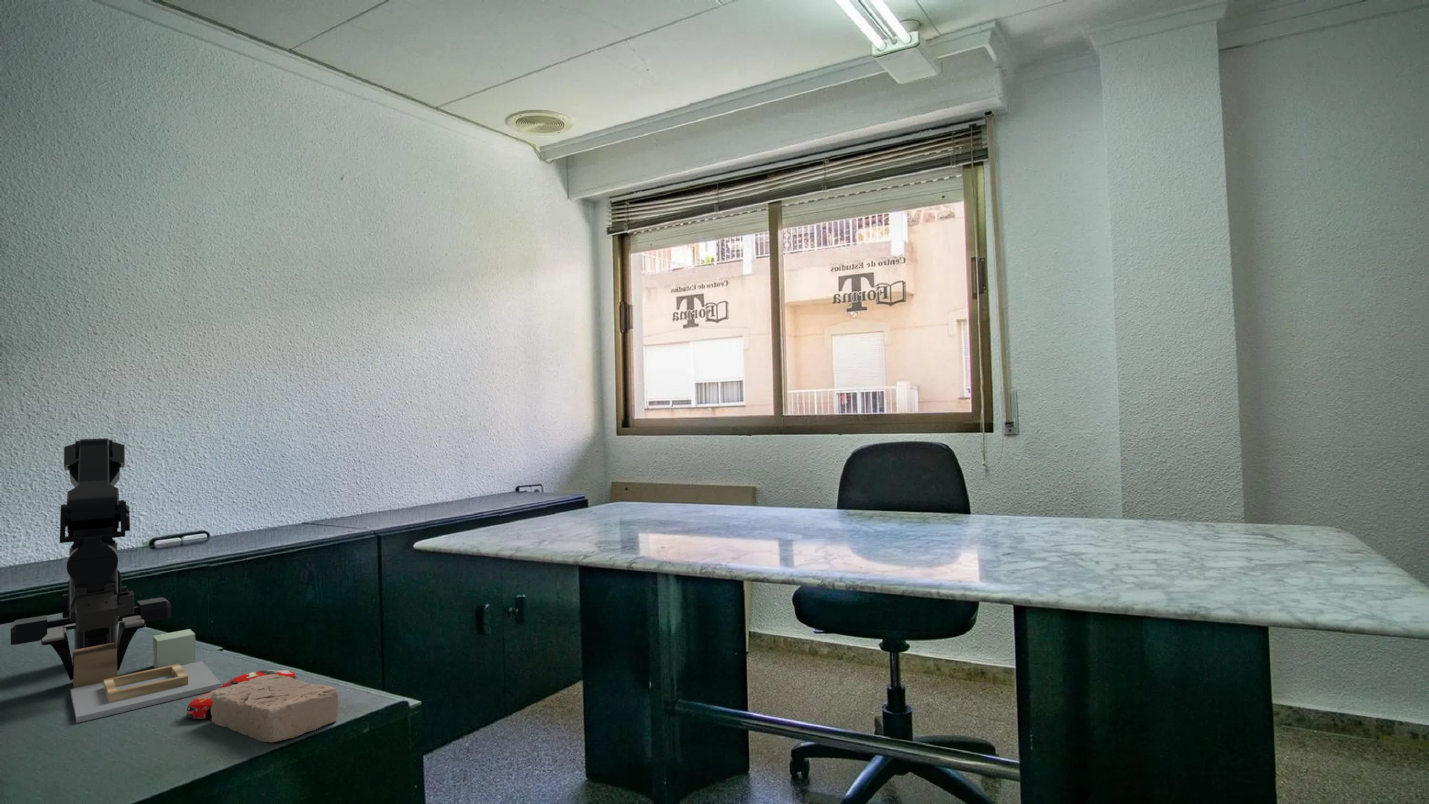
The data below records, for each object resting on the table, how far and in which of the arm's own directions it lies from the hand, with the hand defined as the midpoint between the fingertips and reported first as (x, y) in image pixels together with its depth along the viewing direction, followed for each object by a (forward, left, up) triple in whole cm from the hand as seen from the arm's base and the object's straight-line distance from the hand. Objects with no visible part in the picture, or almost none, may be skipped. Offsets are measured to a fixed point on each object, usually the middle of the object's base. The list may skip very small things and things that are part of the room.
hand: (94, 674), depth 111 cm
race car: (+31, +14, -2) cm, 34 cm away
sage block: (0, +10, -1) cm, 10 cm away
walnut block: (0, 0, -1) cm, 1 cm away
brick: (+42, +15, -2) cm, 45 cm away
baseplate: (+13, +5, -1) cm, 14 cm away
